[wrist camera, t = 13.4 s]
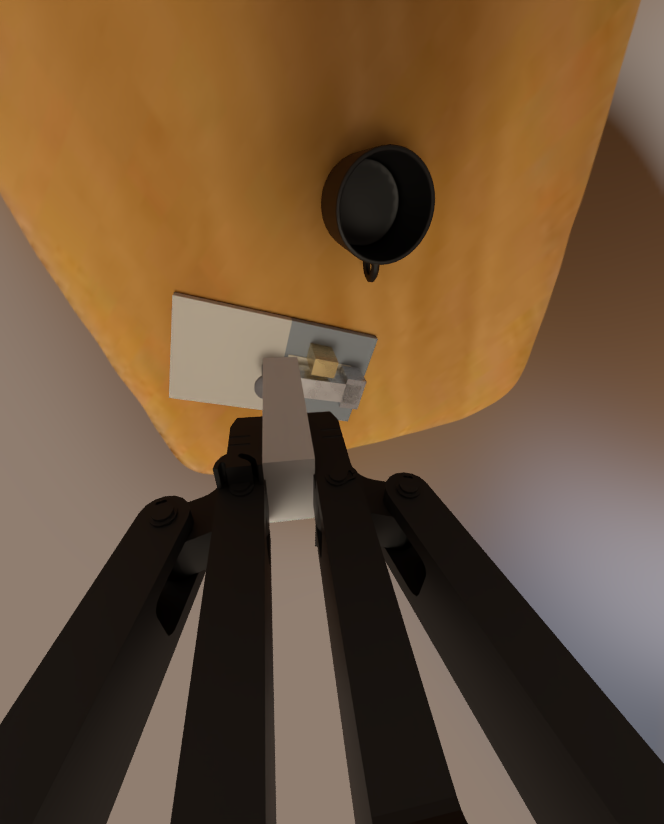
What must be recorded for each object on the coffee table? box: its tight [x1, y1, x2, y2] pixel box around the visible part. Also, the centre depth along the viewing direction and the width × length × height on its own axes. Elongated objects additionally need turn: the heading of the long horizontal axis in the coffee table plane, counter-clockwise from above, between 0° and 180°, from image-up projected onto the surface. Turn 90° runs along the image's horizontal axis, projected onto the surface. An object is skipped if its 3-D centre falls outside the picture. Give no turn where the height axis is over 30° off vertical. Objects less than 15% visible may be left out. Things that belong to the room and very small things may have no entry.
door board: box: [169, 292, 378, 421], centre depth 44 cm, size 14×26×7 cm, turn 74°
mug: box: [321, 144, 435, 282], centre depth 35 cm, size 9×12×9 cm
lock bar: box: [299, 364, 366, 409], centre depth 45 cm, size 11×4×4 cm, turn 76°
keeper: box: [307, 343, 339, 378], centre depth 44 cm, size 2×3×5 cm
